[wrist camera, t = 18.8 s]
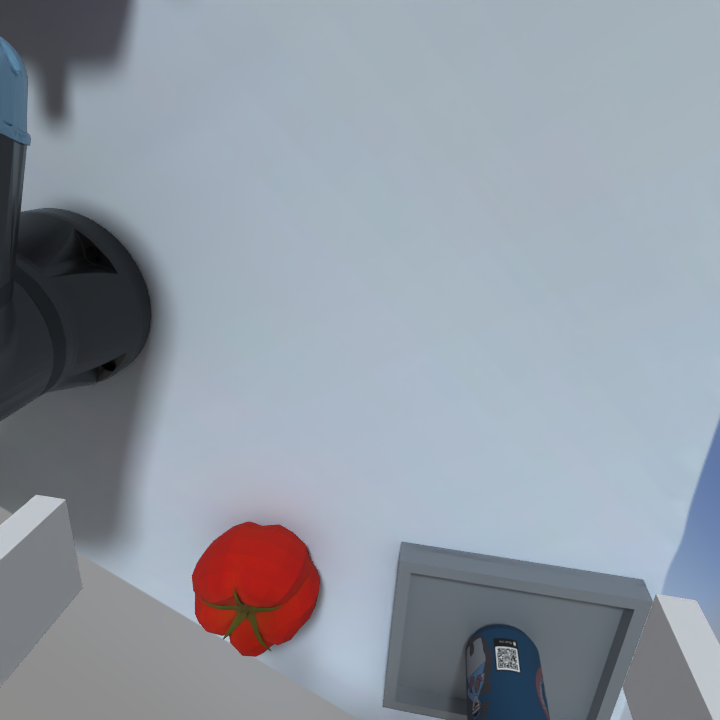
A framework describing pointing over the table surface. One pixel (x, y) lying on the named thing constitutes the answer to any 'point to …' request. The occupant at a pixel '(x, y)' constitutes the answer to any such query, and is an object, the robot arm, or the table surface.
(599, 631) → the tray
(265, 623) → the tomato
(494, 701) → the soda can
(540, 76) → the table surface
